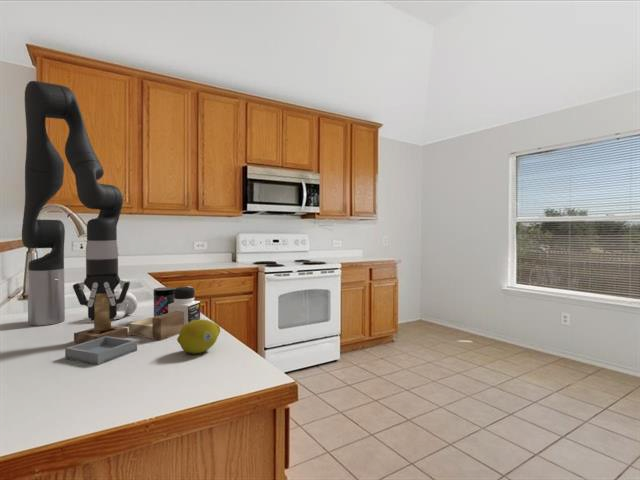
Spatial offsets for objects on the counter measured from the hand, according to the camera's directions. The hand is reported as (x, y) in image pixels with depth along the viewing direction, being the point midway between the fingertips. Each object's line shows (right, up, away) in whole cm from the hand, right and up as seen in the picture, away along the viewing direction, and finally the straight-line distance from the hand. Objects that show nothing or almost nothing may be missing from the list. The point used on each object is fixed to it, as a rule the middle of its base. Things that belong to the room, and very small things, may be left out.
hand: (102, 318), depth 100 cm
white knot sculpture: (-10, -5, +26) cm, 28 cm away
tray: (+7, -6, -12) cm, 15 cm away
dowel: (0, -3, 0) cm, 3 cm away
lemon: (+30, -6, -10) cm, 32 cm away
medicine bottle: (+17, -6, +16) cm, 24 cm away
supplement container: (+7, -5, +23) cm, 24 cm away
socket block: (0, -6, 0) cm, 6 cm away
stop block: (+16, -6, +4) cm, 18 cm away
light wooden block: (+11, -6, +7) cm, 14 cm away
